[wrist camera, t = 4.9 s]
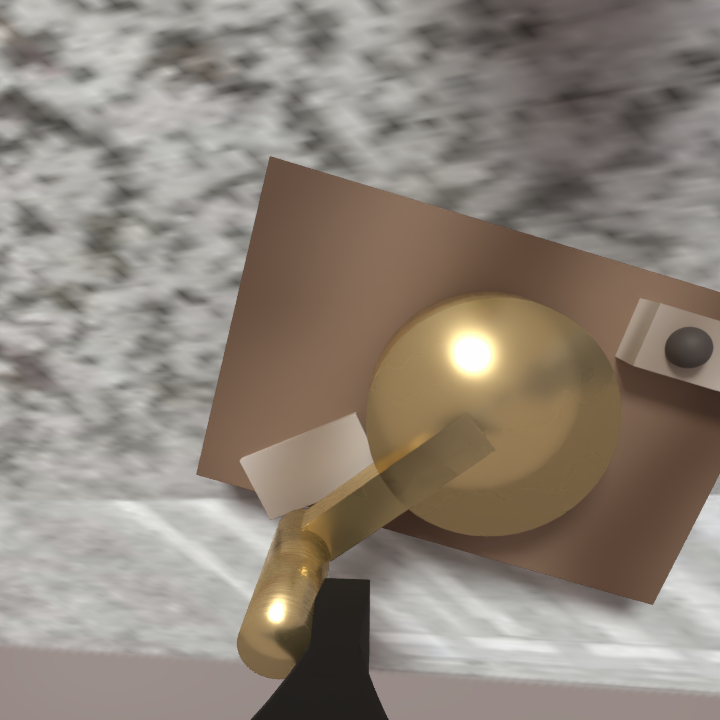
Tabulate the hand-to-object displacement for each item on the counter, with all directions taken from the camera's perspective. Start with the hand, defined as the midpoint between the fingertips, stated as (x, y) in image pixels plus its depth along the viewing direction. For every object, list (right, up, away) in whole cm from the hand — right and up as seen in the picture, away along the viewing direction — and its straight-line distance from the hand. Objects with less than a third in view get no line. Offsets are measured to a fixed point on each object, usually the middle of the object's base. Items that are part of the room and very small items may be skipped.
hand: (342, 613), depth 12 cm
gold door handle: (+2, +4, +1) cm, 5 cm away
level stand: (+4, +6, +3) cm, 8 cm away
